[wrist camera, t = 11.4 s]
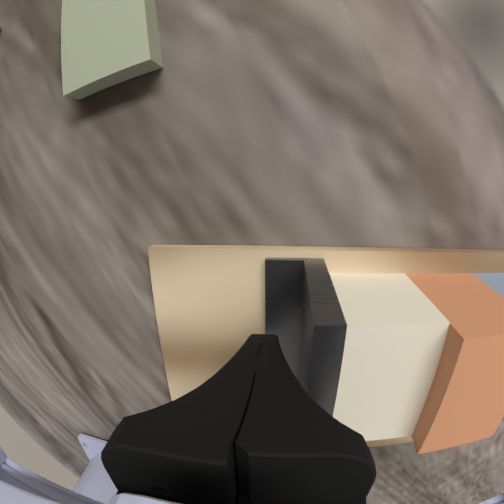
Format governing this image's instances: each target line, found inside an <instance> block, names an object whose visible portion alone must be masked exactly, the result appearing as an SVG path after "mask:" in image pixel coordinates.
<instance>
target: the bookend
mask: <svg viewBox="0 0 504 504" xmlns="http://www.w3.org/2000/svg"><path fill="white" fill-rule="evenodd" d="M346 330H347V324H346V321H345V318H344V315H343V312H342V309H341V306H340V303H339V300H338V297H337V294H336V291H335V288H334V286H333V283H332V280H331V277H330V274H329V272H328V269H327V266H326V263H325V261H324V258H265V334H275V335H277V336H278V337H279V344H280V347H281V350H282V352H283V355H284V357H285V359H286V361H287V363H288V365H289V367H290V369H291V370H292V372H293V374H294V375H295V377H296V378H297V380H298V381H299V383H300V384H301V385H302V387H303V388H304V389H305V390H306V392H307V393H308V394H309V395H310V396H311V397H312V398H313V399H314V401H315V402H316V403H317V404H319V405H320V406H321V407H322V408H323V409H324V410H325V411H326V412H327V413H329V414H330V415H331V416H332V417H333V412H334V406H335V401H336V396H337V390H338V384H339V378H340V372H341V366H342V359H343V352H344V345H345V338H346Z"/></svg>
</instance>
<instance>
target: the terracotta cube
mask: <svg viewBox="0 0 504 504" xmlns="http://www.w3.org/2000/svg"><path fill="white" fill-rule="evenodd" d="M406 275H407V276H408V277H409V279H410V280H411V281H412V282H413V283H414V284H415V285H416V286H417V287H418V288H419V289H420V290H421V291H422V292H423V293H424V294H425V295H426V297H427V298H428V299H429V300H430V301H431V302H432V303H433V304H434V305H435V306H436V307H437V309H438V310H439V311H440V312H441V313H442V314H443V315H444V316H445V317H446V319H447V320H448V321H449V322H450V325H449V329H448V333H447V337H446V340H445V344H444V348H443V351H442V354H441V358H440V361H439V364H438V367H437V370H436V374H435V377H434V379H433V382H432V385H431V388H430V391H429V394H428V396H427V399H426V402H425V404H424V407H423V410H422V412H421V415H420V417H419V420H418V422H417V424H416V427H415V429H414V431H413V434H412V439H413V442H414V444H415V447H416V450H417V453H418V454H422V453H427V452H432V451H437V450H442V449H446V448H450V447H455V446H459V445H463V444H466V443H470V442H474V441H477V440H481V439H484V438H488V437H491V436H493V434H494V433H495V431H496V429H497V427H498V426H499V424H500V422H501V420H502V419H503V417H504V297H503V296H502V295H500V294H499V293H498V292H496V291H495V290H494V289H492V288H491V287H490V286H488V285H487V284H486V283H484V282H483V281H481V280H480V279H479V278H477V277H476V276H474V275H473V274H472V273H461V274H406Z"/></svg>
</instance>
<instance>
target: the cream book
mask: <svg viewBox="0 0 504 504" xmlns="http://www.w3.org/2000/svg"><path fill="white" fill-rule="evenodd" d="M329 274H330V277H331V280H332V283H333V286H334V288H335V291H336V294H337V297H338V300H339V303H340V306H341V309H342V312H343V315H344V318H345V321H346V324H347V330H346V338H345V345H344V352H343V359H342V366H341V372H340V378H339V384H338V390H337V396H336V401H335V406H334V412H333V417H334V418H335V419H336V420H338V421H339V422H341V423H342V424H344V425H346V426H347V427H349V428H351V429H353V430H354V431H356V432H358V433H360V434H361V435H362V436H363V437H364V439H365V441H373V440H382V439H391V438H399V437H406V436H412V434H413V431H414V429H415V427H416V424H417V422H418V420H419V417H420V415H421V412H422V410H423V407H424V404H425V402H426V399H427V396H428V394H429V391H430V388H431V385H432V382H433V379H434V377H435V374H436V370H437V367H438V364H439V361H440V358H441V354H442V351H443V348H444V344H445V340H446V337H447V333H448V329H449V325H450V322H449V321H448V320H447V319H446V317H445V316H444V315H443V314H442V313H441V312H440V311H439V310H438V309H437V307H436V306H435V305H434V304H433V303H432V302H431V301H430V300H429V299H428V298H427V297H426V295H425V294H424V293H423V292H422V291H421V290H420V289H419V288H418V287H417V286H416V285H415V284H414V283H413V282H412V281H411V280H410V279H409V277H408V276H407V275H406V274H336V273H329Z"/></svg>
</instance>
